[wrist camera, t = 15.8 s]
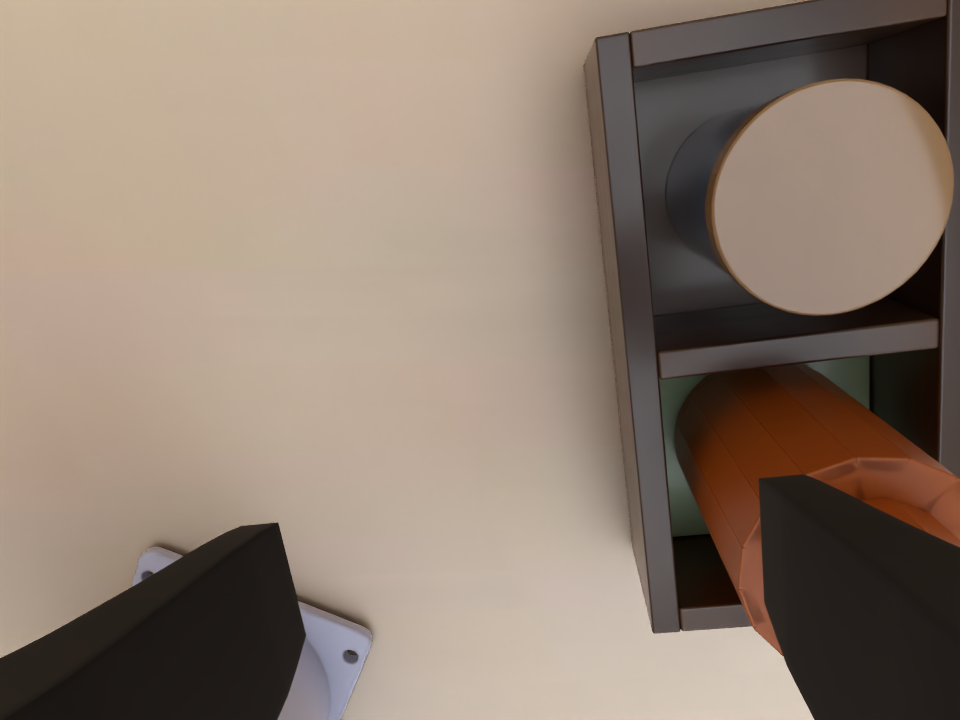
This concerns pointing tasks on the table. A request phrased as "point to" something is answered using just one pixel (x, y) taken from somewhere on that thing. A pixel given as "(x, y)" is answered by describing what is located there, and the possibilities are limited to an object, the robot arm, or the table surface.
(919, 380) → the divided storage box
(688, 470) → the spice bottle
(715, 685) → the table surface
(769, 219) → the blue jar
